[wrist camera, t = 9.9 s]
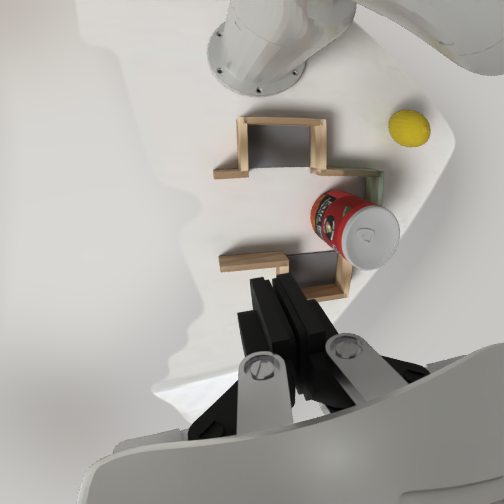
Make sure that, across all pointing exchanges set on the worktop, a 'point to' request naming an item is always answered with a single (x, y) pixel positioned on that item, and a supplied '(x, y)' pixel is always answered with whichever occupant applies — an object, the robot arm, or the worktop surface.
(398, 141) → the lemon
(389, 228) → the canned food
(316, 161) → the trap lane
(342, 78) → the worktop surface
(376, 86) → the worktop surface
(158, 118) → the worktop surface
